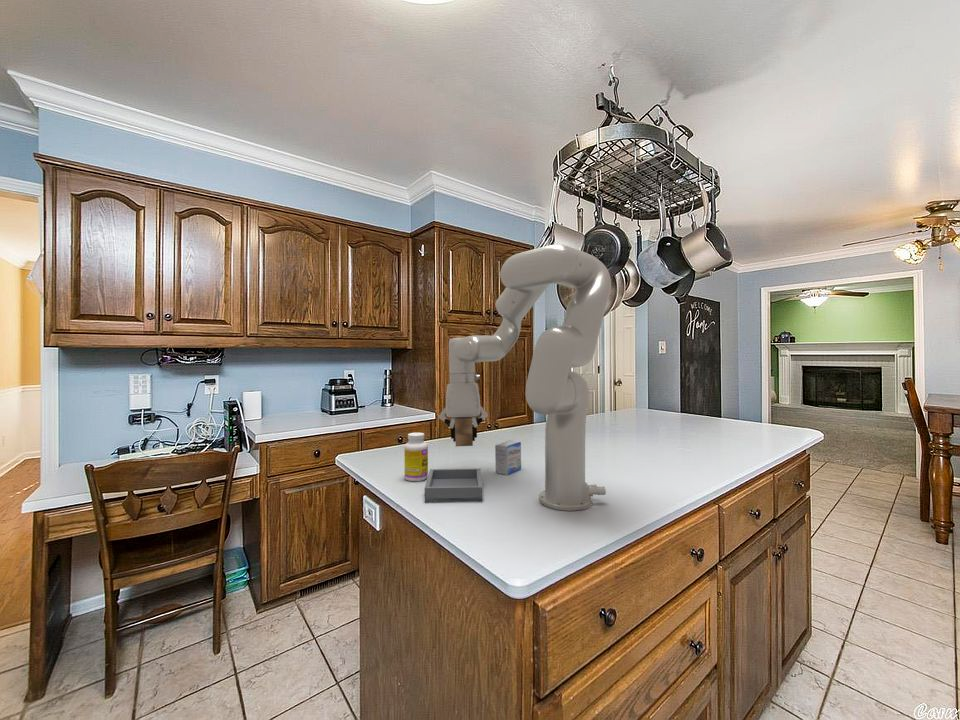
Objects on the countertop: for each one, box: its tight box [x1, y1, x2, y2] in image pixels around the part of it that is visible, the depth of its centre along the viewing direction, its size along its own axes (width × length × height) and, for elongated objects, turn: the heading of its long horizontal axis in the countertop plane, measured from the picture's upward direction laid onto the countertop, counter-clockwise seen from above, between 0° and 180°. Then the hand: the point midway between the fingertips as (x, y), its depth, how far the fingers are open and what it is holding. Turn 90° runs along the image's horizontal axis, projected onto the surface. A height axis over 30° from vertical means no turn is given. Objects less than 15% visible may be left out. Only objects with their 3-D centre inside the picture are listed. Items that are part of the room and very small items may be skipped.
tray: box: [424, 467, 483, 504], centre depth 108 cm, size 14×16×4 cm
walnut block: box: [454, 418, 474, 447], centre depth 122 cm, size 5×5×8 cm
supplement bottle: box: [403, 432, 429, 482], centre depth 119 cm, size 7×7×13 cm
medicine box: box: [494, 439, 522, 476], centre depth 125 cm, size 8×4×9 cm, turn 143°
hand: (464, 439), depth 122 cm, fingers closed on walnut block, 5 cm apart
